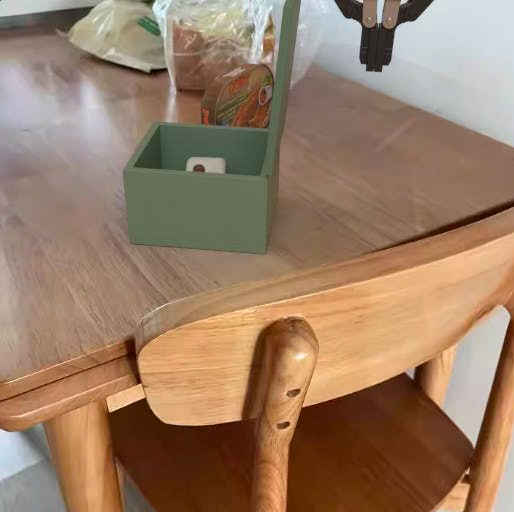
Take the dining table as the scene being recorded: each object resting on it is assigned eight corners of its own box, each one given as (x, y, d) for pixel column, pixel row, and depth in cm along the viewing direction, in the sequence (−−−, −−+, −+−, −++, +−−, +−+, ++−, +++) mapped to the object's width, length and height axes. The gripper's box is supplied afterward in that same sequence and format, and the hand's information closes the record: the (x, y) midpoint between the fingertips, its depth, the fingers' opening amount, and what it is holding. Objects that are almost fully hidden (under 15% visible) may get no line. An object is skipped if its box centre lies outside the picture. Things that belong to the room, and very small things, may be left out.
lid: (283, 5, 58) (293, 6, 58) (296, -27, 67) (304, -26, 67) (263, 174, 66) (272, 176, 66) (277, 124, 76) (284, 125, 76)
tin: (218, 159, 89) (217, 90, 84) (197, 154, 90) (194, 85, 85) (276, 121, 100) (278, 57, 95) (256, 117, 101) (257, 53, 96)
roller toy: (231, 199, 79) (231, 147, 76) (229, 227, 74) (229, 173, 71) (190, 198, 79) (188, 147, 75) (185, 226, 74) (183, 172, 70)
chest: (129, 243, 73) (122, 170, 68) (158, 188, 83) (153, 121, 78) (265, 254, 71) (267, 180, 67) (278, 197, 81) (280, 129, 77)
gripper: (483, -166, 58) (444, 61, 68) (315, -171, 59) (303, 53, 69) (496, -160, 52) (451, 87, 62) (309, -166, 53) (297, 78, 63)
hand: (373, 69), depth 66 cm, fingers closed
